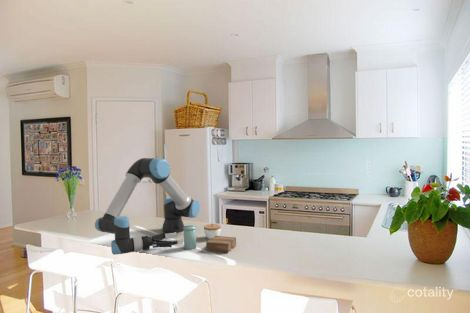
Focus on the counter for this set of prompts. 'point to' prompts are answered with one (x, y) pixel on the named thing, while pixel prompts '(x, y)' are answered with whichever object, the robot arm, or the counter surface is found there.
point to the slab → (221, 244)
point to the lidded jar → (212, 230)
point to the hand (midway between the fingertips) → (179, 237)
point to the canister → (189, 237)
